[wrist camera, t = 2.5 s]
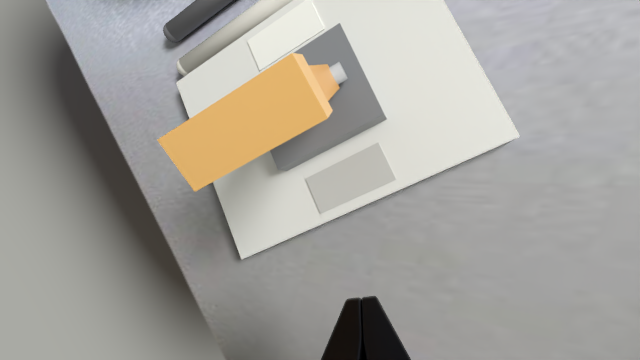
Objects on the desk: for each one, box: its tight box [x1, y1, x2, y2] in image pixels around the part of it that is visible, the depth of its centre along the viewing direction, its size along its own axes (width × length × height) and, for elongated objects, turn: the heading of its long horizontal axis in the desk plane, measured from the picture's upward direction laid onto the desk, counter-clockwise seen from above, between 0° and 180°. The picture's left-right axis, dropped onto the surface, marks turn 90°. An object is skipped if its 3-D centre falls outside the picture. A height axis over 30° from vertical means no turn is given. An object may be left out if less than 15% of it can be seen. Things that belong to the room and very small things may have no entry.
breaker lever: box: [158, 53, 348, 191], centre depth 13 cm, size 2×5×10 cm, turn 115°
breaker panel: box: [176, 0, 520, 260], centre depth 19 cm, size 14×18×2 cm
